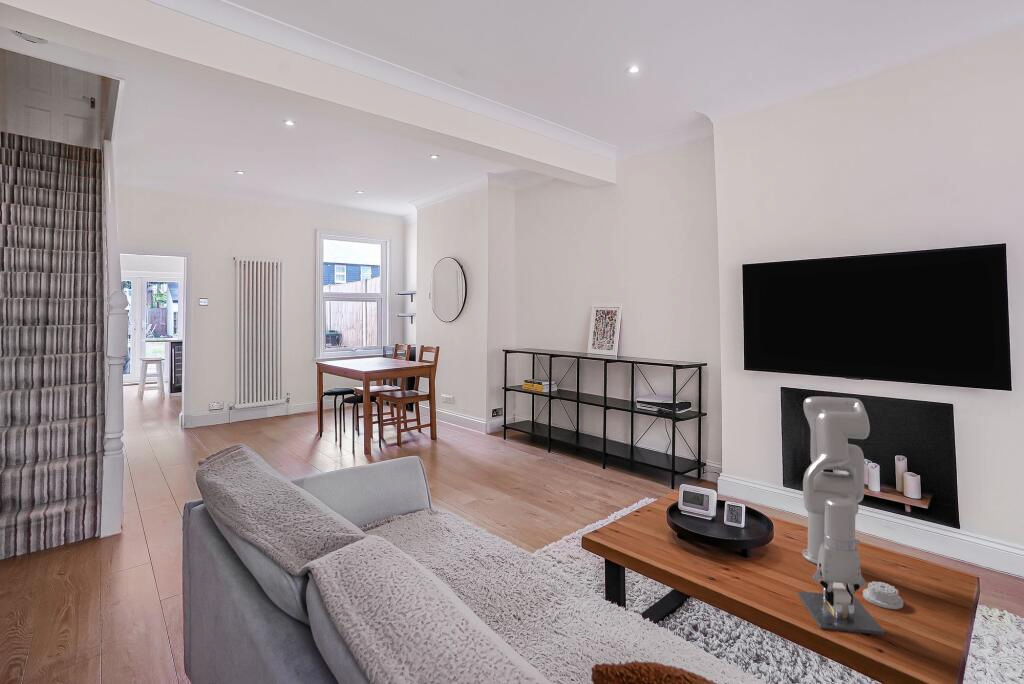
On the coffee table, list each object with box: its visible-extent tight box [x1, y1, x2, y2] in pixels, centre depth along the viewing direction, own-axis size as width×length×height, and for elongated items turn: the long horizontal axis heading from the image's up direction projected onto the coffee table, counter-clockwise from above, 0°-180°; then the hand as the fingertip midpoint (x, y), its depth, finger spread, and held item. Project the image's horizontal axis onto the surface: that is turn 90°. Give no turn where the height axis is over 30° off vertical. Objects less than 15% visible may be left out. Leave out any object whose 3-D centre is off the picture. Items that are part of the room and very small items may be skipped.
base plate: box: [797, 587, 886, 636], centre depth 147 cm, size 18×16×5 cm
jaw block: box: [828, 582, 851, 615], centre depth 147 cm, size 6×4×6 cm, turn 168°
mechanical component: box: [862, 580, 904, 610], centre depth 154 cm, size 10×4×10 cm
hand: (838, 603), depth 146 cm, fingers closed on jaw block, 3 cm apart
